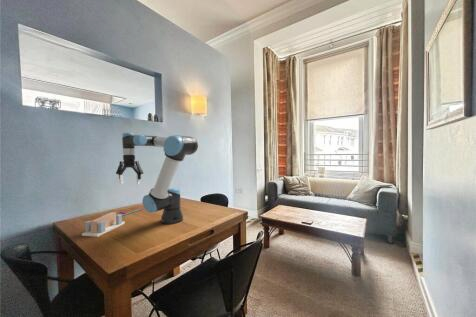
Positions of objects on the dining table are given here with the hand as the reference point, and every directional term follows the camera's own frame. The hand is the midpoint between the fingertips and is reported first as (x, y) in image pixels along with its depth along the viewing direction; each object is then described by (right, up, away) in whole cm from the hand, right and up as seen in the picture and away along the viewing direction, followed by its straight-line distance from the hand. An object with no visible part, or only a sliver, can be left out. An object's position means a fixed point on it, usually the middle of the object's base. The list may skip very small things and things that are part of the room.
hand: (130, 183), depth 145 cm
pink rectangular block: (-8, -26, -15) cm, 31 cm away
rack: (-8, -27, -15) cm, 32 cm away
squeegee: (-15, -27, +17) cm, 36 cm away
